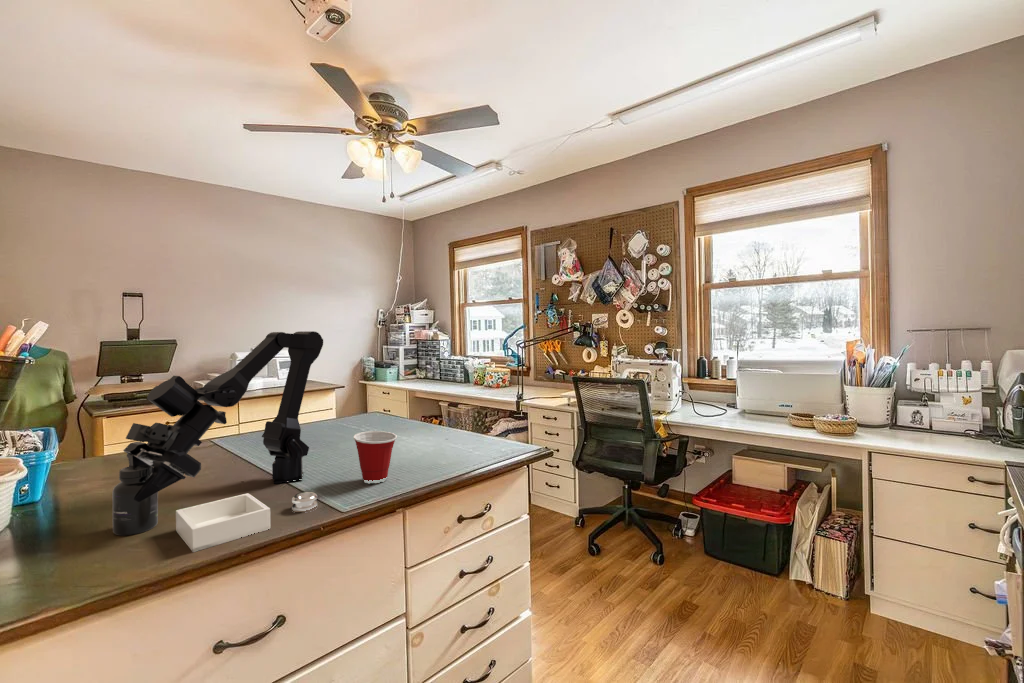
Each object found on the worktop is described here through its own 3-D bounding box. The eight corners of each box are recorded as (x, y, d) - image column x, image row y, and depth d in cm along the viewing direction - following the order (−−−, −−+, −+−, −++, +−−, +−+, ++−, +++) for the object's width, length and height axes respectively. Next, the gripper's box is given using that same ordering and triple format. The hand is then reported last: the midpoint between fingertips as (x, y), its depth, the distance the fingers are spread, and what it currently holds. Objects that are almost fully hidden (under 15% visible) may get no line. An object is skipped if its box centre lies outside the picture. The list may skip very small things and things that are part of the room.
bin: (248, 511, 96) (248, 493, 96) (270, 528, 87) (270, 508, 87) (176, 530, 87) (175, 510, 86) (193, 552, 78) (192, 529, 78)
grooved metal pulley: (320, 504, 100) (297, 504, 100) (320, 490, 100) (297, 491, 100) (312, 512, 95) (288, 513, 95) (312, 499, 95) (287, 499, 95)
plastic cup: (381, 490, 109) (380, 441, 109) (344, 485, 112) (344, 437, 112) (405, 476, 119) (405, 431, 119) (371, 472, 123) (370, 428, 122)
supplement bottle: (107, 539, 83) (106, 475, 83) (119, 525, 89) (117, 465, 89) (154, 532, 86) (152, 469, 86) (162, 518, 92) (161, 460, 92)
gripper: (134, 403, 95) (65, 469, 85) (183, 410, 86) (112, 484, 77) (176, 433, 102) (117, 497, 92) (225, 442, 93) (166, 513, 84)
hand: (127, 497), depth 86 cm, fingers closed on supplement bottle, 7 cm apart
